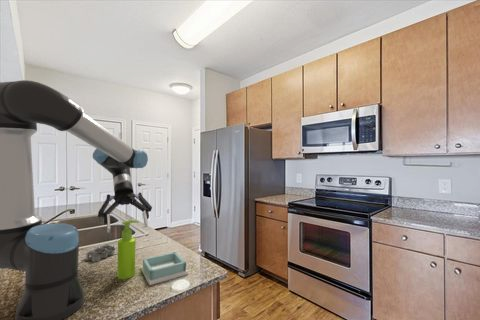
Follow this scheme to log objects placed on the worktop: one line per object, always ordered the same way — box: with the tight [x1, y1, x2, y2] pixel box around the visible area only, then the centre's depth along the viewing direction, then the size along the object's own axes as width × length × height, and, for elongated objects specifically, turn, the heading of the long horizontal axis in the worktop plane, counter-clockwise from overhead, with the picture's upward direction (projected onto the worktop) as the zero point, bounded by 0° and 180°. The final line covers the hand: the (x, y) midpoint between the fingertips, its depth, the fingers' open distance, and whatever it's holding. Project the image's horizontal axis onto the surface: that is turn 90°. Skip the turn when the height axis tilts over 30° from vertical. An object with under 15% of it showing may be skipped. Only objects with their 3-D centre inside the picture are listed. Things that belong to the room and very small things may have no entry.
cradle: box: [140, 251, 189, 286], centre depth 88 cm, size 14×14×4 cm
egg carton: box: [84, 243, 117, 263], centre depth 101 cm, size 11×8×4 cm
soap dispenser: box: [116, 219, 139, 280], centre depth 85 cm, size 6×7×20 cm
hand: (128, 228), depth 91 cm, fingers open, 13 cm apart
